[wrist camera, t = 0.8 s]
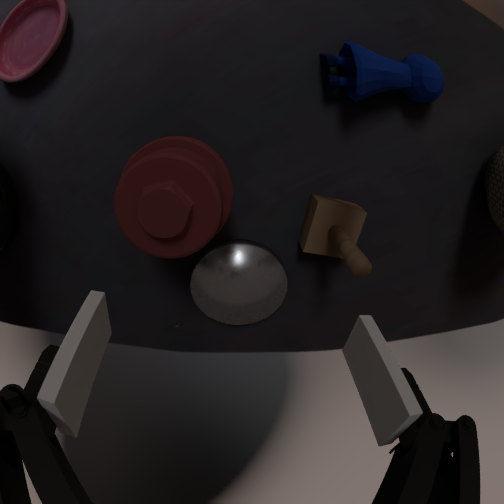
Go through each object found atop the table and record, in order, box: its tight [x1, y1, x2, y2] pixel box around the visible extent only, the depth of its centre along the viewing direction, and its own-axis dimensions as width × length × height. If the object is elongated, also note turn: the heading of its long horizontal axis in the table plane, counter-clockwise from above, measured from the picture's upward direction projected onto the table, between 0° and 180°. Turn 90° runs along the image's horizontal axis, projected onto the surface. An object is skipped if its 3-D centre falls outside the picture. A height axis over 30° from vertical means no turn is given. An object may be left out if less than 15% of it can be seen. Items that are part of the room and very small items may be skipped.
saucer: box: [0, 0, 68, 82], centre depth 19 cm, size 12×12×3 cm
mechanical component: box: [114, 136, 233, 258], centre depth 25 cm, size 12×10×10 cm
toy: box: [320, 40, 444, 103], centre depth 24 cm, size 7×6×15 cm
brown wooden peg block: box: [298, 193, 372, 278], centre depth 29 cm, size 6×6×11 cm
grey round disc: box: [190, 239, 287, 325], centre depth 37 cm, size 12×12×2 cm
